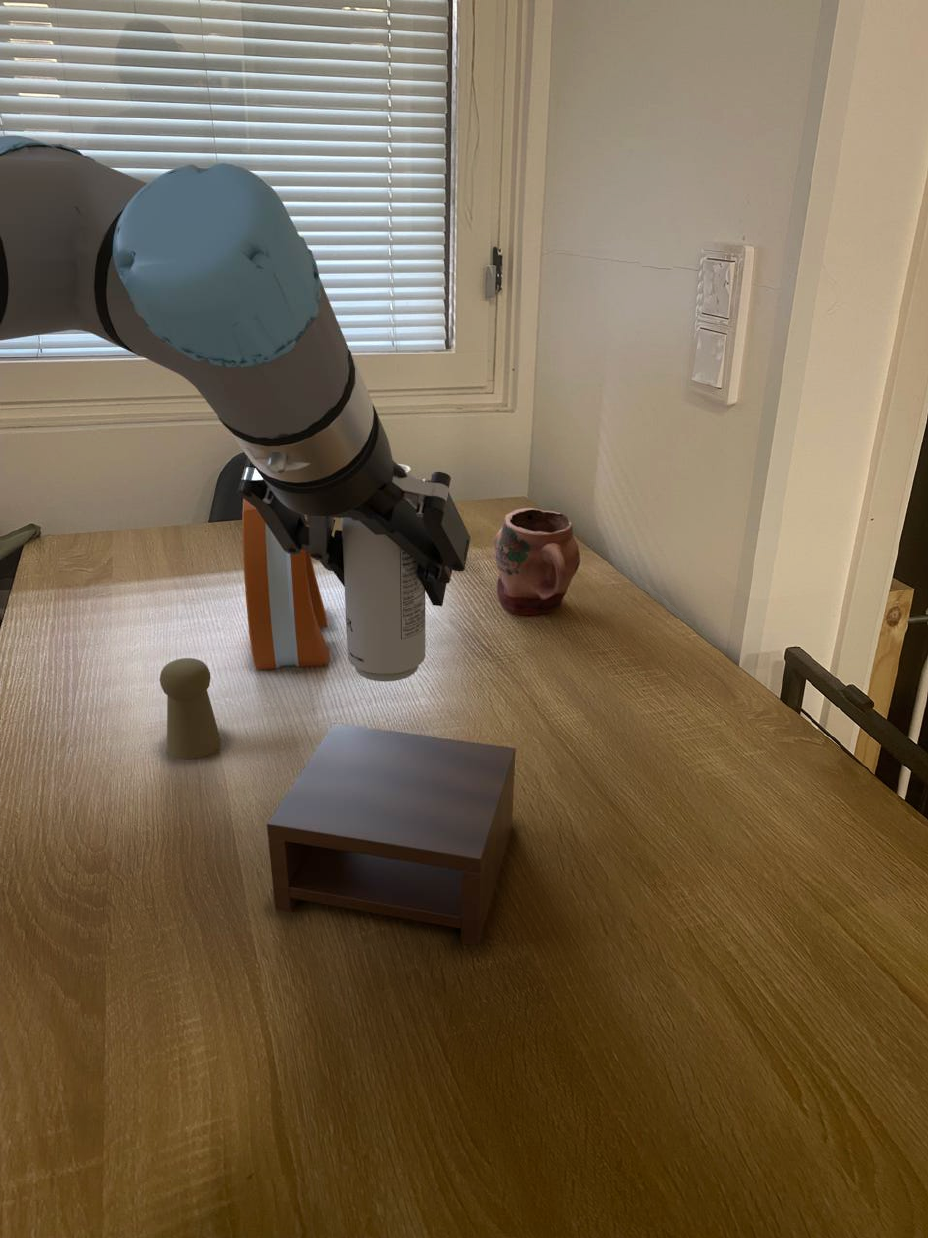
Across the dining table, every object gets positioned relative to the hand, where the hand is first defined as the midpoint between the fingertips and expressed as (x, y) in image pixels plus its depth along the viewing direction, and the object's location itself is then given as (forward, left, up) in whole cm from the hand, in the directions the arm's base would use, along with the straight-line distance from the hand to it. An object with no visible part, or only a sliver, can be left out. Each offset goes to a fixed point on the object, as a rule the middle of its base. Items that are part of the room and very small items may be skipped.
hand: (399, 584), depth 72 cm
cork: (-29, -11, -29) cm, 43 cm away
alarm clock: (-48, +8, -29) cm, 57 cm away
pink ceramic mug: (-42, +44, -29) cm, 67 cm away
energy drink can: (+3, -2, -6) cm, 7 cm away
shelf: (0, 0, -29) cm, 29 cm away
